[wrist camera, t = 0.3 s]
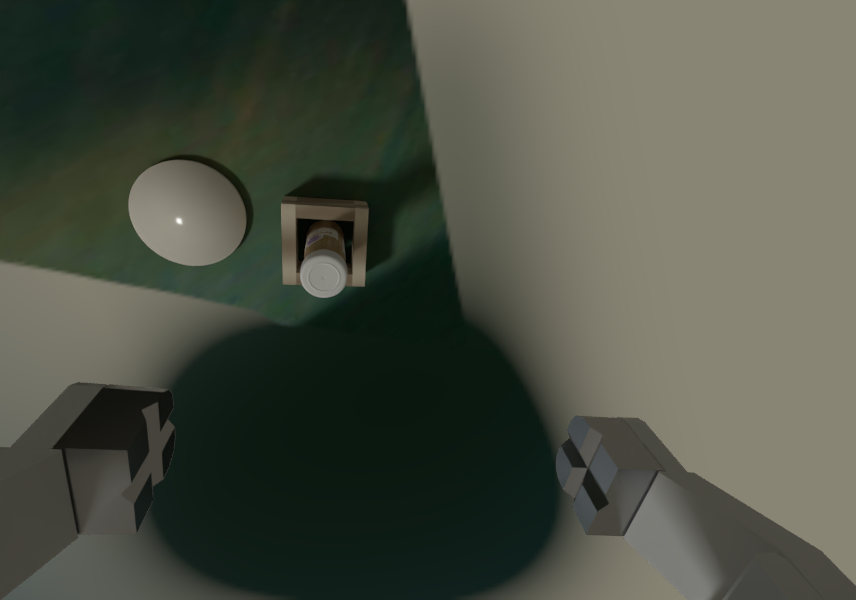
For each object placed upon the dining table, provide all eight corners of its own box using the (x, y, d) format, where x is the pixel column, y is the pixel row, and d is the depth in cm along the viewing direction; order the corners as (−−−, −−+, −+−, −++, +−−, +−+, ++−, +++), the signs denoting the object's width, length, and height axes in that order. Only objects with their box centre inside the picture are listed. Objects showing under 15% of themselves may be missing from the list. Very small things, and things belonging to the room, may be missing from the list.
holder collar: (284, 195, 52) (280, 203, 49) (366, 201, 54) (368, 209, 51) (285, 272, 56) (282, 284, 53) (362, 274, 58) (364, 286, 55)
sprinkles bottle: (322, 211, 54) (320, 245, 42) (351, 235, 56) (357, 275, 44) (298, 238, 55) (289, 280, 43) (327, 261, 57) (327, 307, 45)
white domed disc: (122, 154, 47) (119, 155, 47) (243, 164, 50) (242, 165, 49) (140, 261, 52) (137, 264, 52) (249, 265, 55) (248, 267, 54)
